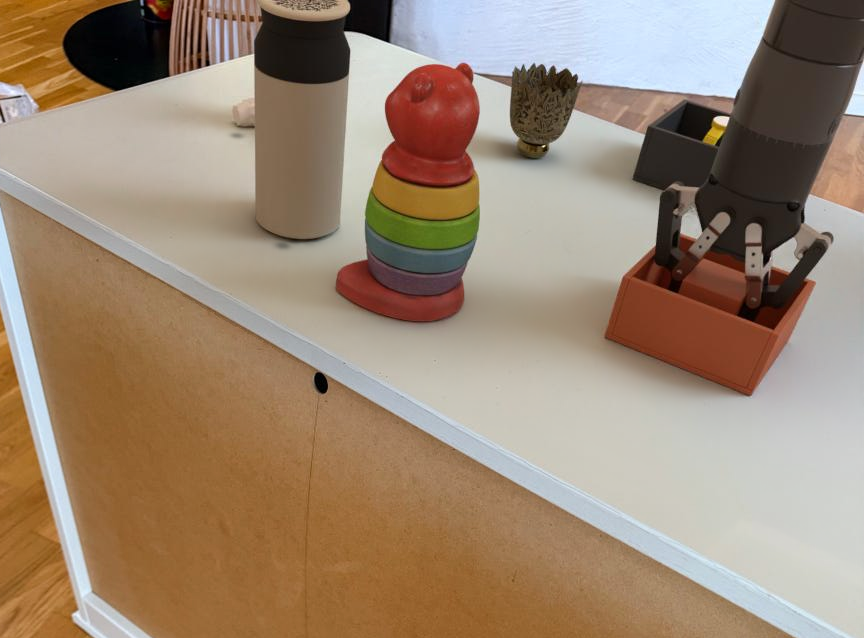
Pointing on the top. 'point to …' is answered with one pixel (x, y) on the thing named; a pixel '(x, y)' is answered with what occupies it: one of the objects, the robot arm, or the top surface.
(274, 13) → the travel mug
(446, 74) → the stacking bear
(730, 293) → the terracotta block
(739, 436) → the top surface
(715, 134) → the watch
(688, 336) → the terracotta bin
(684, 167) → the charcoal bin
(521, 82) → the cup
